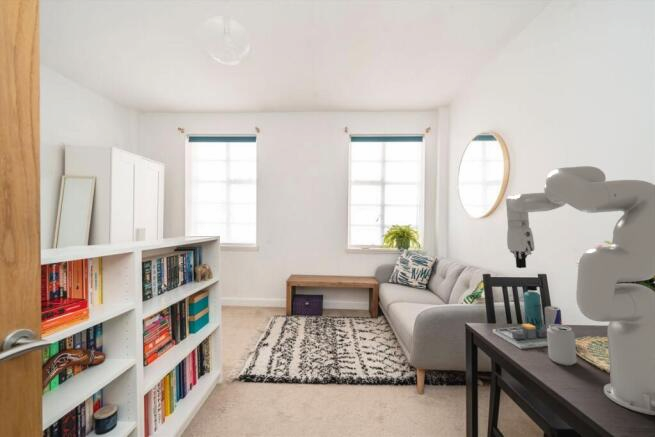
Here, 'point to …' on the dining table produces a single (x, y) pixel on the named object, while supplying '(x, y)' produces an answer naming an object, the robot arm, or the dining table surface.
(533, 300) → the beverage bottle
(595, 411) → the dining table surface
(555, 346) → the can
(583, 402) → the dining table surface
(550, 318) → the energy drink
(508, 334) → the panel
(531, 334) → the handle
